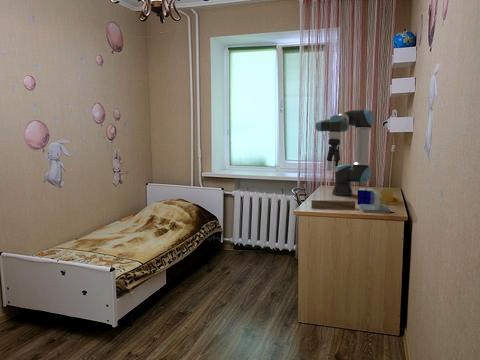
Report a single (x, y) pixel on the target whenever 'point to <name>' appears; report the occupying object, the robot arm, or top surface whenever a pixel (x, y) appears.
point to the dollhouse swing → (388, 197)
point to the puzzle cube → (364, 196)
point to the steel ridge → (375, 199)
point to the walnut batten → (333, 204)
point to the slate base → (370, 209)
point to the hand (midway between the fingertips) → (332, 171)
